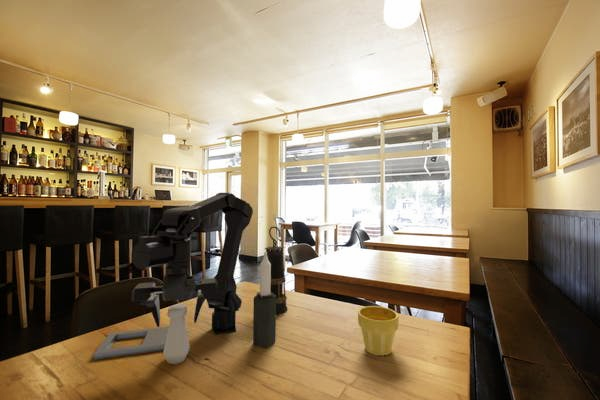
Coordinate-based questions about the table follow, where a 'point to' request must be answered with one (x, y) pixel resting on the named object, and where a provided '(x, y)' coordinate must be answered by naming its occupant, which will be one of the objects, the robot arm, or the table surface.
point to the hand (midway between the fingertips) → (177, 324)
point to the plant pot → (378, 328)
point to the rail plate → (151, 343)
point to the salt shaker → (176, 335)
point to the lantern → (277, 274)
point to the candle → (264, 309)
